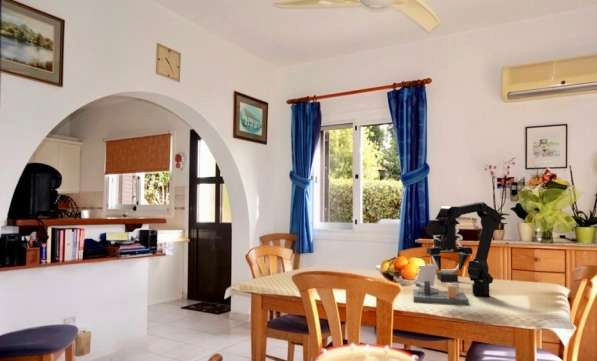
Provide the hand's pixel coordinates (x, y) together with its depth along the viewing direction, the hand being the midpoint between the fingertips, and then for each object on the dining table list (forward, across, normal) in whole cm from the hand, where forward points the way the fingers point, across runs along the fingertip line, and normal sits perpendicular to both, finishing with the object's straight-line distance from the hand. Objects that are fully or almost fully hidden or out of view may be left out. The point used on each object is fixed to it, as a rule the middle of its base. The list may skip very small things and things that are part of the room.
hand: (449, 270), depth 191 cm
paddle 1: (+11, -3, -2) cm, 11 cm away
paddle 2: (+10, +1, +5) cm, 12 cm away
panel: (+12, +5, 0) cm, 13 cm away
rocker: (+8, +8, -6) cm, 13 cm away
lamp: (+13, -17, -44) cm, 49 cm away
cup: (+13, +4, -20) cm, 24 cm away
